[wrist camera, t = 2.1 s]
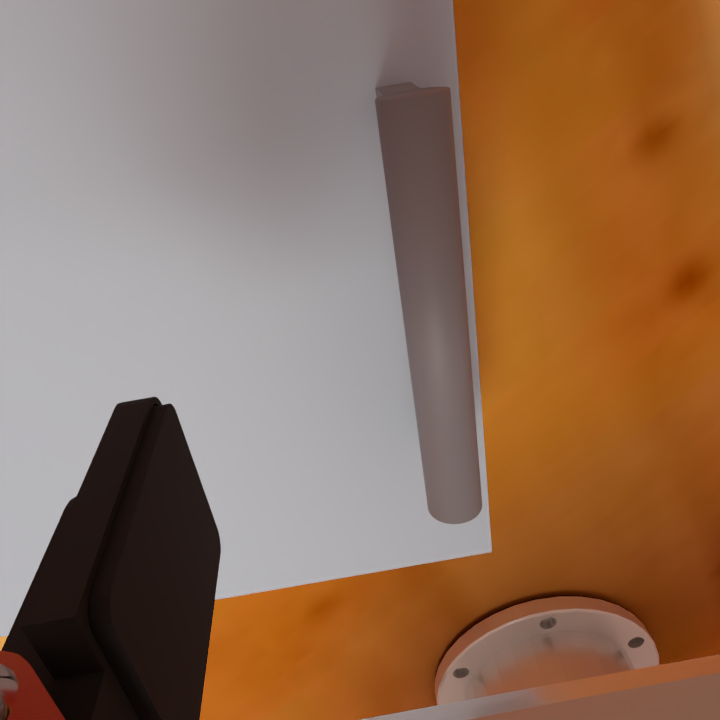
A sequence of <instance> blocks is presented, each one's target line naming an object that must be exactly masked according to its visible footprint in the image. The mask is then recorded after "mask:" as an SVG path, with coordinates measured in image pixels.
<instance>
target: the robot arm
mask: <svg viewBox="0 0 720 720" xmlns="http://www.w3.org/2000/svg"><path fill="white" fill-rule="evenodd" d="M220 554H221V544H220V536H219V532H218V528H217V526H216V523H215V520H214V517H213V514H212V511H211V509H210V506H209V503H208V500H207V497H206V495H205V492H204V489H203V486H202V483H201V480H200V478H199V475H198V472H197V469H196V466H195V464H194V461H193V458H192V455H191V452H190V449H189V447H188V444H187V441H186V438H185V435H184V432H183V430H182V427H181V424H180V421H179V418H178V416H177V413H176V410H175V408H174V407H173V405H172V404H164V405H162V403H161V402H160V400H159V399H158V398H157V397H150V398H144V399H138V400H133V401H127V402H121V403H118V404H117V405H116V406H115V408H114V411H113V413H112V415H111V418H110V420H109V422H108V425H107V427H106V429H105V431H104V434H103V436H102V438H101V441H100V443H99V445H98V448H97V450H96V452H95V455H94V457H93V459H92V462H91V464H90V466H89V469H88V471H87V473H86V476H85V478H84V480H83V482H82V485H81V487H80V489H79V492H78V494H77V496H76V497H74V498H73V499H71V500H70V501H69V502H68V504H67V505H66V507H65V509H64V511H63V513H62V516H61V518H60V520H59V522H58V525H57V527H56V529H55V531H54V534H53V536H52V538H51V540H50V543H49V545H48V547H47V549H46V552H45V554H44V556H43V558H42V561H41V563H40V565H39V567H38V570H37V572H36V574H35V576H34V579H33V581H32V583H31V585H30V588H29V590H28V592H27V594H26V597H25V599H24V601H23V603H22V606H21V608H20V610H19V612H18V615H17V617H16V619H15V621H14V624H13V626H12V628H11V630H10V633H9V635H8V637H7V639H6V642H5V644H4V646H3V648H2V651H0V720H199V718H200V710H201V702H202V694H203V687H204V679H205V671H206V663H207V656H208V648H209V640H210V632H211V625H212V617H213V609H214V601H215V594H216V586H217V578H218V570H219V563H220ZM435 698H436V703H437V706H431V707H426V708H421V709H415V710H410V711H404V712H399V713H393V714H388V715H382V716H377V717H372V718H366V719H361V720H720V654H718V655H713V656H707V657H702V658H696V659H690V660H685V661H679V662H674V663H668V664H662V665H659V653H658V651H657V648H656V645H655V642H654V641H653V639H652V637H651V636H650V634H649V632H648V631H647V629H646V627H645V626H644V624H643V623H642V622H641V621H640V620H639V619H638V618H637V617H636V616H635V615H634V614H632V613H631V612H629V611H627V610H626V609H624V608H622V607H620V606H619V605H616V604H613V603H610V602H607V601H604V600H601V599H594V598H587V597H580V596H558V597H551V598H543V599H536V600H532V601H529V602H525V603H521V604H518V605H514V606H512V607H509V608H507V609H505V610H502V611H500V612H497V613H495V614H493V615H491V616H490V617H488V618H486V619H484V620H483V621H481V622H479V623H478V624H476V625H475V626H473V627H472V628H471V629H470V630H468V631H467V632H466V633H465V634H463V635H462V636H461V637H460V638H459V639H458V640H457V641H456V642H455V643H454V644H453V646H452V647H451V648H450V649H449V650H448V651H447V653H446V654H445V656H444V658H443V660H442V661H441V663H440V665H439V667H438V670H437V674H436V677H435Z"/></svg>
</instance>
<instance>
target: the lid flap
mask: <svg viewBox="0 0 720 720" xmlns="http://www.w3.org/2000/svg"><path fill="white" fill-rule="evenodd" d="M150 397H157V398H158V399H159V400H160V402H161V403H162V405H164V404H172V405H173V407H174V408H175V410H176V413H177V416H178V418H179V421H180V424H181V427H182V430H183V432H184V435H185V438H186V441H187V444H188V447H189V449H190V452H191V455H192V458H193V461H194V464H195V466H196V469H197V472H198V475H199V478H200V480H201V483H202V486H203V489H204V492H205V495H206V497H207V500H208V503H209V506H210V509H211V511H212V514H213V517H214V520H215V523H216V526H217V528H218V532H219V536H220V544H221V554H220V563H219V570H218V578H217V586H216V594H215V600H217V599H223V598H229V597H235V596H240V595H246V594H252V593H258V592H263V591H269V590H275V589H281V588H287V587H292V586H298V585H304V584H310V583H316V582H321V581H327V580H333V579H339V578H345V577H350V576H356V575H362V574H368V573H374V572H379V571H385V570H391V569H397V568H402V567H408V566H414V565H420V564H426V563H431V562H437V561H443V560H449V559H455V558H460V557H466V556H472V555H478V554H484V553H489V552H492V545H491V531H490V517H489V502H488V488H487V474H486V460H485V446H484V432H483V418H482V404H481V390H480V375H479V361H478V347H477V333H476V319H475V305H474V291H473V277H472V262H471V248H470V234H469V220H468V206H467V192H466V178H465V164H464V150H463V135H462V121H461V107H460V93H459V79H458V65H457V51H456V37H455V22H454V8H453V0H0V637H3V636H8V635H9V633H10V630H11V628H12V626H13V624H14V621H15V619H16V617H17V615H18V612H19V610H20V608H21V606H22V603H23V601H24V599H25V597H26V594H27V592H28V590H29V588H30V585H31V583H32V581H33V579H34V576H35V574H36V572H37V570H38V567H39V565H40V563H41V561H42V558H43V556H44V554H45V552H46V549H47V547H48V545H49V543H50V540H51V538H52V536H53V534H54V531H55V529H56V527H57V525H58V522H59V520H60V518H61V516H62V513H63V511H64V509H65V507H66V505H67V504H68V502H69V501H70V500H71V499H73V498H74V497H76V496H77V494H78V492H79V489H80V487H81V485H82V482H83V480H84V478H85V476H86V473H87V471H88V469H89V466H90V464H91V462H92V459H93V457H94V455H95V452H96V450H97V448H98V445H99V443H100V441H101V438H102V436H103V434H104V431H105V429H106V427H107V425H108V422H109V420H110V418H111V415H112V413H113V411H114V408H115V406H116V405H117V404H118V403H121V402H127V401H133V400H138V399H144V398H150Z"/></svg>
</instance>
